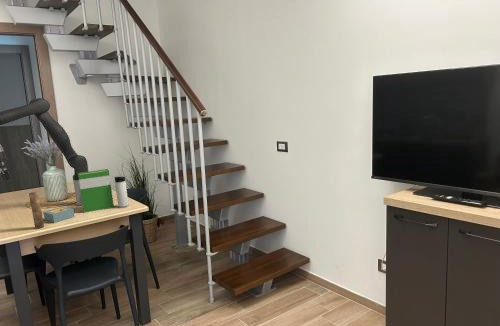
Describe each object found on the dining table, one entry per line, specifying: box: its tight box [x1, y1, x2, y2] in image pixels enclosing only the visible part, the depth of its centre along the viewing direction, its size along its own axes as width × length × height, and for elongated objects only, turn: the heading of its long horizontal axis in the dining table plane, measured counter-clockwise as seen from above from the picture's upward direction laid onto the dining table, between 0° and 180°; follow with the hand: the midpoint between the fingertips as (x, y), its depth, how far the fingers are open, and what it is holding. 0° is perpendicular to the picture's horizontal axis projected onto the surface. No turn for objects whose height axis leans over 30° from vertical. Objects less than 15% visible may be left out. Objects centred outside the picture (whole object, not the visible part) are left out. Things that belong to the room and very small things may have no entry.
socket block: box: [42, 205, 75, 224], centre depth 221 cm, size 12×12×5 cm
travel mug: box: [114, 176, 130, 209], centre depth 236 cm, size 6×7×20 cm
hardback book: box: [78, 168, 115, 214], centre depth 235 cm, size 18×7×24 cm, turn 116°
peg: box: [28, 191, 45, 230], centre depth 206 cm, size 4×4×20 cm
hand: (6, 179), depth 210 cm, fingers open, 8 cm apart
